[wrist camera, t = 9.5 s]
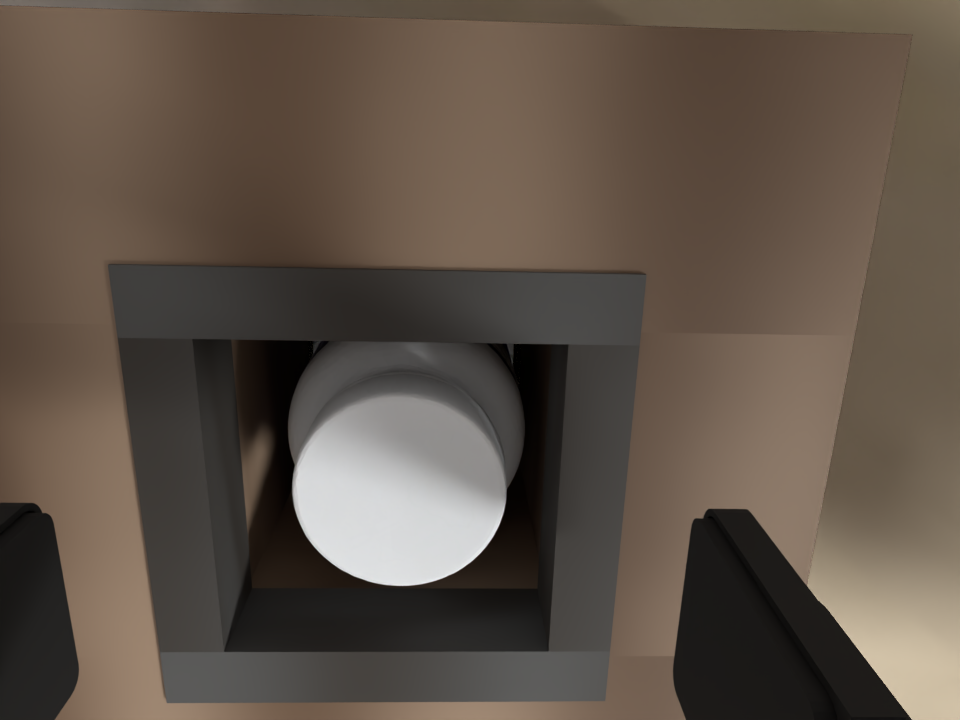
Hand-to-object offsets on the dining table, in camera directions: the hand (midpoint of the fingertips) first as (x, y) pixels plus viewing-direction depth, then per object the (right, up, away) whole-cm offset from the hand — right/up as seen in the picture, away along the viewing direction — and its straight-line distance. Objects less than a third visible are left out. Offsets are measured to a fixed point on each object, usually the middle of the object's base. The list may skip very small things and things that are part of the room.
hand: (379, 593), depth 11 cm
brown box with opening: (-1, +4, +12) cm, 12 cm away
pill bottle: (0, +4, +11) cm, 12 cm away
